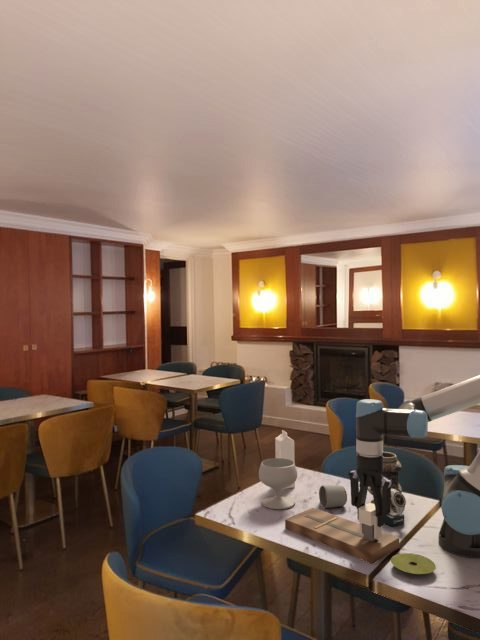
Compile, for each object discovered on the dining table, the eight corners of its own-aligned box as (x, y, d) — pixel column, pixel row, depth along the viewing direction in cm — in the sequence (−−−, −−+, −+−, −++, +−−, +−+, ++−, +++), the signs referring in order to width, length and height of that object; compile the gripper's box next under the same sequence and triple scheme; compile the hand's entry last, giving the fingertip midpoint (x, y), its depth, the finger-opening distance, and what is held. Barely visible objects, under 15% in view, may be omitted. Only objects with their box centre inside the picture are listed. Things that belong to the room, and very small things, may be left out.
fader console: (399, 547, 144) (399, 536, 144) (372, 564, 135) (372, 552, 135) (312, 516, 168) (312, 506, 168) (285, 528, 158) (285, 518, 158)
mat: (384, 560, 137) (384, 553, 137) (423, 558, 138) (423, 551, 138) (401, 582, 125) (401, 574, 125) (443, 579, 126) (443, 572, 126)
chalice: (251, 506, 177) (251, 464, 177) (271, 494, 189) (270, 455, 189) (286, 514, 170) (285, 470, 170) (304, 501, 181) (303, 460, 181)
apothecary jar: (399, 499, 183) (399, 450, 183) (404, 511, 171) (404, 459, 171) (366, 497, 185) (365, 449, 185) (368, 509, 173) (368, 458, 173)
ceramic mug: (348, 509, 174) (348, 486, 174) (327, 511, 172) (326, 489, 172) (335, 499, 184) (335, 478, 184) (314, 501, 182) (314, 480, 182)
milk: (280, 489, 195) (279, 433, 195) (275, 484, 201) (274, 430, 200) (295, 487, 196) (294, 432, 196) (289, 482, 202) (288, 429, 202)
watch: (396, 530, 156) (396, 495, 156) (378, 521, 163) (377, 487, 163) (409, 526, 159) (408, 492, 159) (390, 517, 166) (390, 485, 166)
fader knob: (382, 537, 144) (382, 506, 144) (370, 543, 140) (370, 512, 140) (370, 533, 147) (370, 502, 147) (358, 539, 143) (358, 508, 143)
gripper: (403, 457, 139) (404, 539, 139) (352, 446, 152) (353, 522, 152) (389, 462, 134) (390, 548, 134) (337, 450, 147) (338, 529, 147)
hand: (370, 534), depth 143 cm, fingers closed on fader knob, 4 cm apart
